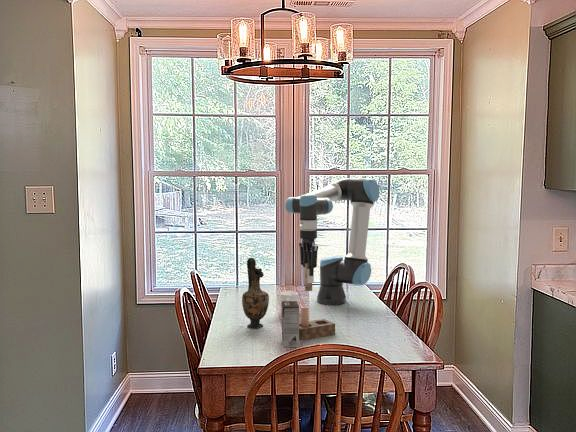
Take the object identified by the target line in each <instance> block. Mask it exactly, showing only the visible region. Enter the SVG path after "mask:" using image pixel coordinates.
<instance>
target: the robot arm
mask: <svg viewBox="0 0 576 432" xmlns="http://www.w3.org/2000/svg"><path fill="white" fill-rule="evenodd" d="M379 198H380V187H379V184H378V182H377V181H376V180H375V179H374V178H369V177H368V178H367V177H356V178H355V177H347V178H343V179H338V180H336V181H333V182H330V183H329V184H328V185H326V186H325V187H323V188H320V189H316V190H314V191H311V192H308V193H306V194H301V195H300V196H296V197H295V196H291V197H288V198H287V199H286V200H285V210H286V211H287V213H290V214H298V215H299V228H300V230H299V238H300V239H301V240H302V241H301V242H299V243H298V246H299V255H300V265H302V268H303V282H304V283H305V263H308V267H307V283H312V284H313V283H315V282H314V281H315V280H314V272H315V271H314V269H315V268H317V266H318V251H319V245H316V243H315V242H316V241H315V240H316V239H317V238H318V230H317V229H318V216H319V215H328V214H330V213H331V212H332V211H333V208H334V204H333V202H338V201H350V204H351V206H352V215H351V223H350V224H351V225H350V233H349V240H348V241H349V244H348V251H347V252H348V253H347V254H346V255H345V256H344V257H343V256H338V255H337V256H328V257H324V258H322V259H321V260H320V261H319V262H320V263H319V276H320V277H319V278H320V279H319V289H318V293H317V297H316V302H318V303H319V304H322V305H342V304H344V303H346V302H347V297H346V293H345V290H344V287H343V284H346V285H353V286H363V285H364V286H365V285H366V284H367V283H368V281H369V280H370V278H371V275H372V266H371V264H370V262H368V261H369V259H368V257H367V256H366V249H367V243H368V242H367V241H368V232H369V224H370V223H369V222H370V215H371V214H370V211H371V208H372V207H374V203H375V202H377V201H378V200H379Z"/></svg>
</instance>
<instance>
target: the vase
mask: <svg viewBox="0 0 576 432" xmlns="http://www.w3.org/2000/svg"><path fill="white" fill-rule="evenodd" d="M256 266H257V262H256V259H255V258H254V257H249V258H247V261H246V267H247V271H246V272H247V279H248V280H247V281H248V287H247V290H246V291H244V292H243V294H242V296H241V297H242V298H241V305H242V310H243V313H244V315H245V316H246V318H248V320H249V321H250V323H249V324H247V326H246V327H247V329H251V330H252V329H254V330H255V329H256V330H257V329H258V330H259V329H262V328H264V324H262V323H261V319H263V318H264V317H265V316H266V314H267V311H268V309H269V305H270V303H269V301H270V296H269V293H268V292H266V291H264V290H262V289H261V286H260V285H261V282H260V281H261V278H263V277H264V275H265V274H264V272H263V271H262V270H263V269H262V268H257V267H256Z"/></svg>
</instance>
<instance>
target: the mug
mask: <svg viewBox="0 0 576 432" xmlns="http://www.w3.org/2000/svg"><path fill="white" fill-rule="evenodd" d="M279 295H280V315H281V316H282V303H281V302H282V301H297V303H298V304H299V292H297V291H290V290H287V291H281V292H280V294H279Z"/></svg>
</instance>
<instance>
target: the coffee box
mask: <svg viewBox="0 0 576 432" xmlns="http://www.w3.org/2000/svg"><path fill="white" fill-rule="evenodd" d="M281 303H282V315H281V339H282V340H281V341H282V345H283V348H293V347H294V348H297V347H298V348H299V347H300V339H299V323H300V306H299V302H298V303H297V301H282V302H281V301H280V304H281Z"/></svg>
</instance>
